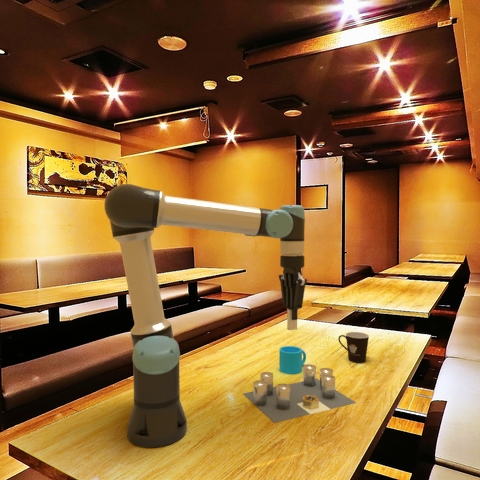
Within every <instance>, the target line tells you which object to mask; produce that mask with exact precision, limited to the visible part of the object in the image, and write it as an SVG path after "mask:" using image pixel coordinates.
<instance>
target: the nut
mask: <svg viewBox="0 0 480 480" xmlns="http://www.w3.org/2000/svg"><path fill="white" fill-rule="evenodd" d="M303 407H305V408H308V409H315V408H319V400H318V397H316V396H312V395H307V396H303Z"/></svg>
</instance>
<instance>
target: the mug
mask: <svg viewBox="0 0 480 480" xmlns="http://www.w3.org/2000/svg"><path fill="white" fill-rule="evenodd" d="M278 352H279V358H278V359H279V366H278V368H279V369H278V370H279V371H280V373H282V374H285V375H298V374H300V373H302V372H303V366H304V365H305V362H306V359H307V354H306V351H305V350H303V349H302V348H301V347H298V346H295V345H293V346H292V345H286V346H285V345H284V346H282V347H280V348H279V351H278Z"/></svg>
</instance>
